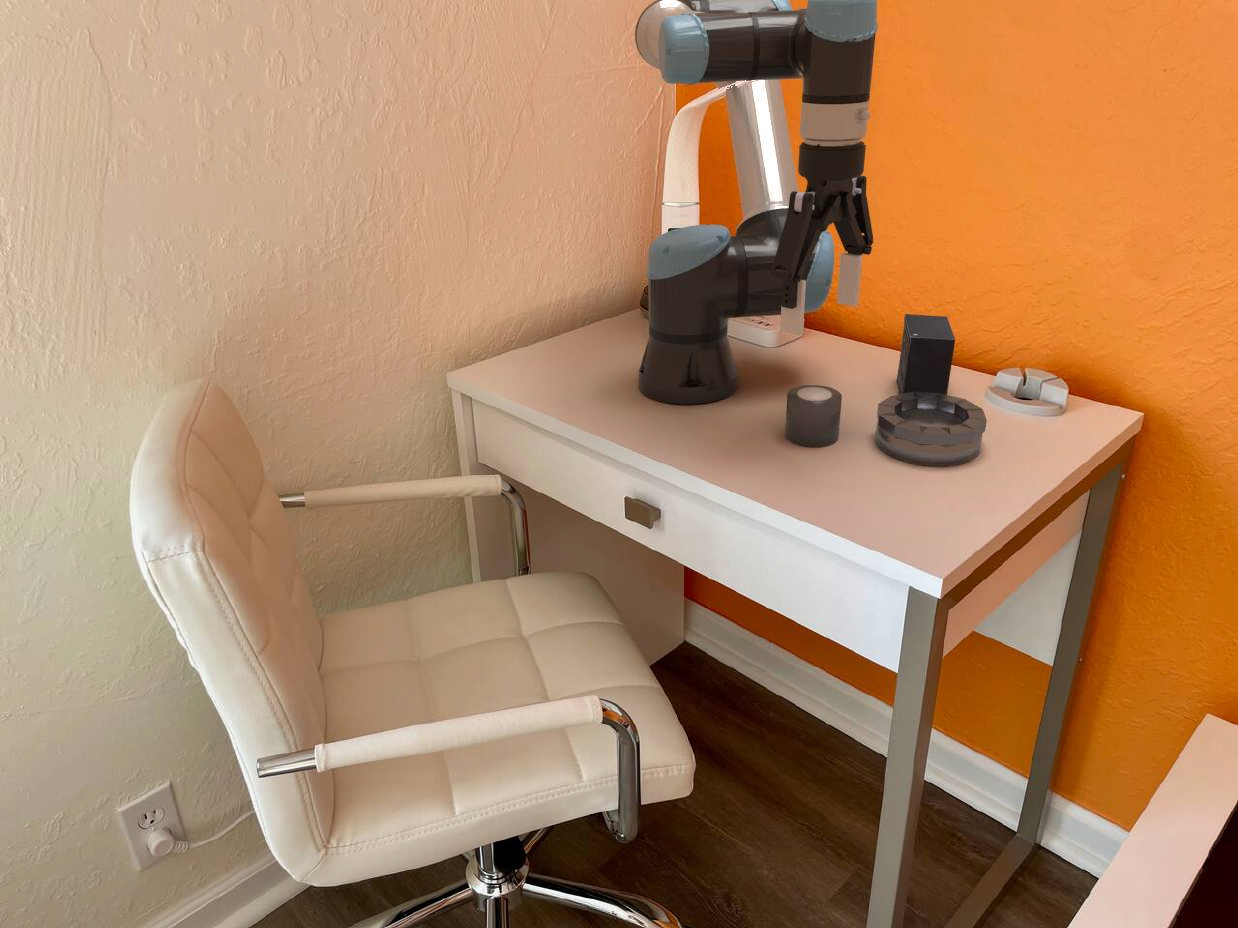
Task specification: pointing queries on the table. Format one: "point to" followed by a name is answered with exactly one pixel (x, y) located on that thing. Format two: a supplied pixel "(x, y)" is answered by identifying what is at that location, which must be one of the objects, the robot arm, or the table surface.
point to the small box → (925, 354)
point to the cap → (813, 416)
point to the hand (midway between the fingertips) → (820, 318)
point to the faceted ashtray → (930, 429)
